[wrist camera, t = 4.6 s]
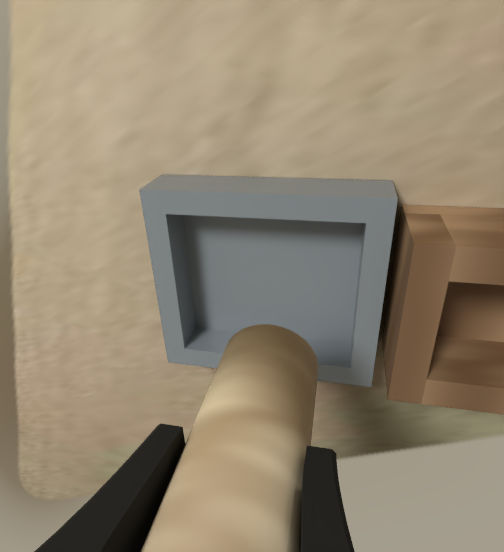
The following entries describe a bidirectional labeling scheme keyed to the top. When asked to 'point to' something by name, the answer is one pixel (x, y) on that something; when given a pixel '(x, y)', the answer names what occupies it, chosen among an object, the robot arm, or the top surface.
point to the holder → (447, 309)
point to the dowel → (244, 451)
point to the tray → (271, 264)
